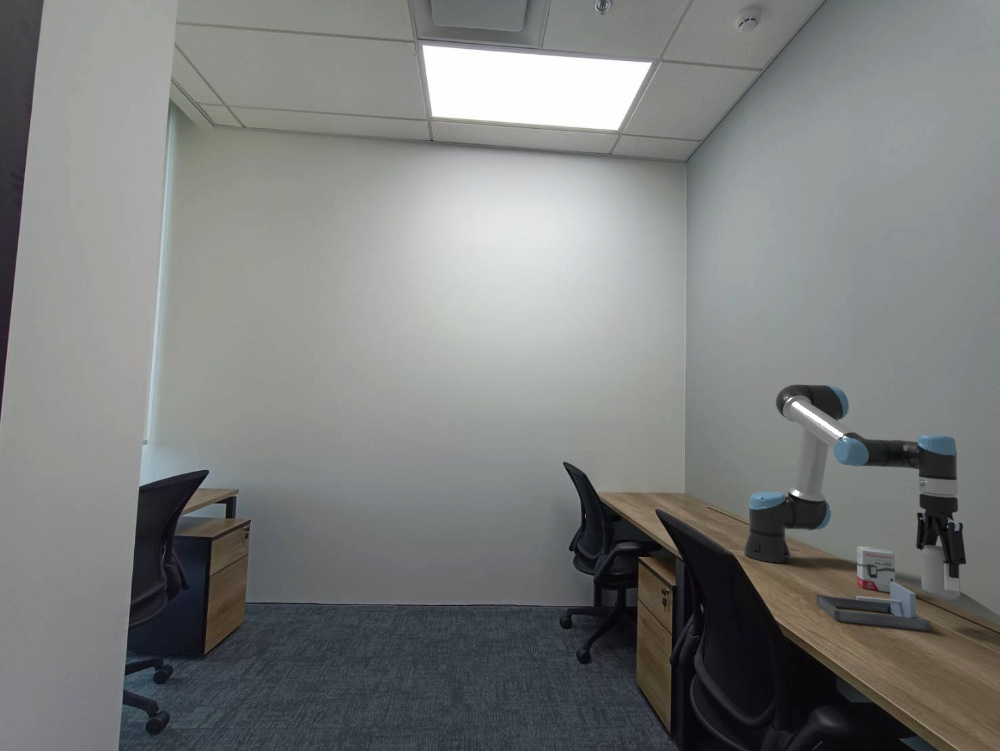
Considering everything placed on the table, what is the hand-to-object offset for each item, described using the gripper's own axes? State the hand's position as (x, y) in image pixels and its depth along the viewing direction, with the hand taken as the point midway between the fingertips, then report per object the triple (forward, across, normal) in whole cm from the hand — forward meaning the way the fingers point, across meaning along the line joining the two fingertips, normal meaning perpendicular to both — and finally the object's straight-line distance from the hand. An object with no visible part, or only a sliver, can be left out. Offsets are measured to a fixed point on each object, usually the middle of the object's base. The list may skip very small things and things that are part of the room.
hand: (940, 584), depth 128 cm
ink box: (+10, -26, -2) cm, 28 cm away
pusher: (+10, 0, -14) cm, 17 cm away
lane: (+10, 0, -16) cm, 19 cm away
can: (+3, 0, 0) cm, 3 cm away
